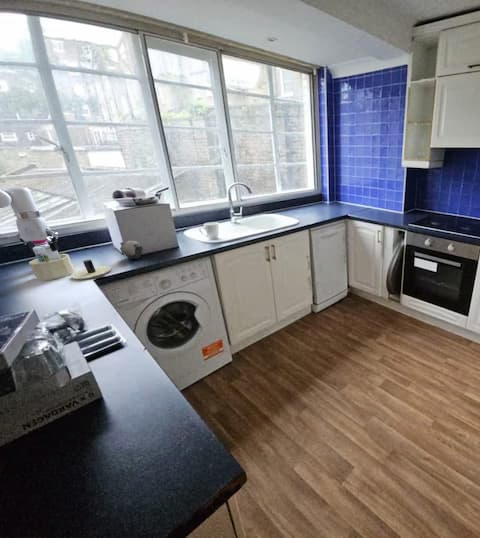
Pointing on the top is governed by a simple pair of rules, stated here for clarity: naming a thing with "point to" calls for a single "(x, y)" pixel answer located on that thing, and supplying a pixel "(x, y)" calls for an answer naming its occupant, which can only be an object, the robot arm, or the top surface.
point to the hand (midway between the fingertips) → (44, 251)
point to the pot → (52, 268)
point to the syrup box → (45, 254)
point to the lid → (90, 271)
